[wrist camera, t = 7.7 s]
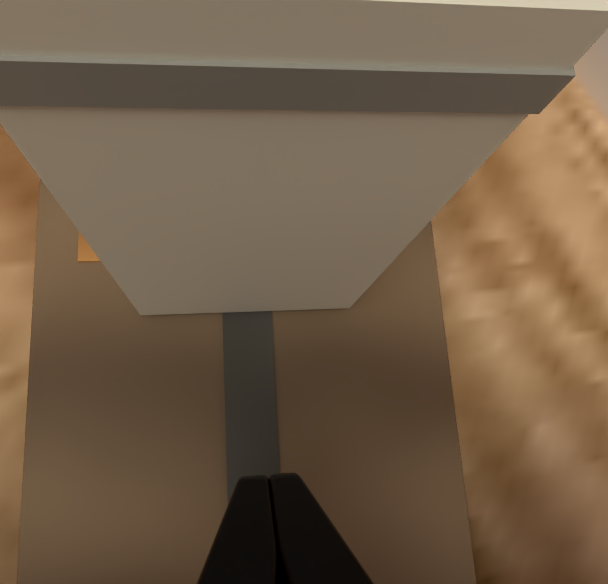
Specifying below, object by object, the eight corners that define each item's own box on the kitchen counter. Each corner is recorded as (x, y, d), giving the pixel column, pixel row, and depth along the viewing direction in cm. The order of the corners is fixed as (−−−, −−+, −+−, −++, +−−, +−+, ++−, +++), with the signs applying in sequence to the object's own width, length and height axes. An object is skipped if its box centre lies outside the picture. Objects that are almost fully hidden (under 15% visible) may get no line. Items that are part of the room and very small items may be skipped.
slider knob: (351, 309, 14) (629, 18, 4) (138, 317, 13) (-115, -14, 3) (338, 158, 15) (540, -359, 5) (139, 157, 14) (-55, -442, 4)
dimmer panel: (474, 822, 13) (556, 952, 10) (31, 897, 12) (-46, 1076, 9) (390, 87, 18) (426, 8, 15) (68, 80, 17) (28, -9, 14)
